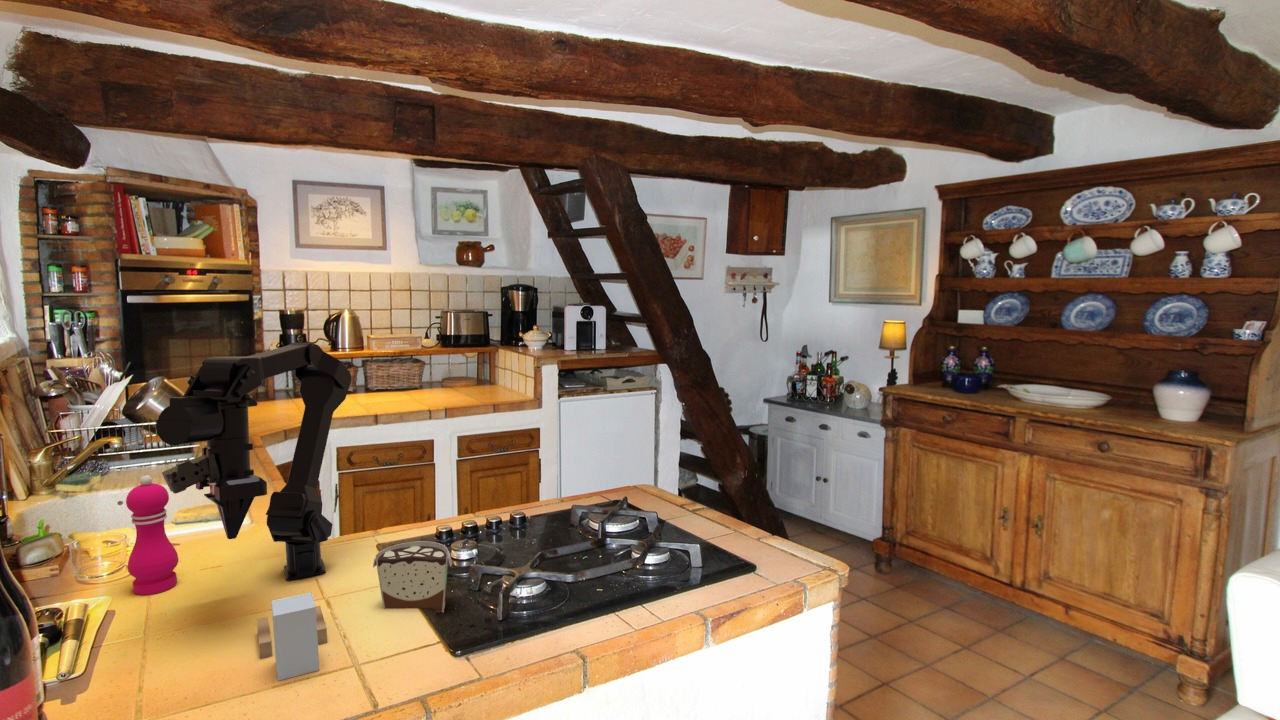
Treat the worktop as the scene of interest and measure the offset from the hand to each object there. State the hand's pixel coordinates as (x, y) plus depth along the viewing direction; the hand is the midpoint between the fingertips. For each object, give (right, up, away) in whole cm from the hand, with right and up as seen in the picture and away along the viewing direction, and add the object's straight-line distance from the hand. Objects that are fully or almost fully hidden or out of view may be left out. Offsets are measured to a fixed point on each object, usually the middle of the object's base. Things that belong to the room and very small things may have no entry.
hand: (231, 538), depth 109 cm
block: (+17, -14, -13) cm, 25 cm away
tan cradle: (+14, -15, -8) cm, 22 cm away
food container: (+27, -13, +7) cm, 31 cm away
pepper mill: (-21, -12, +13) cm, 28 cm away
